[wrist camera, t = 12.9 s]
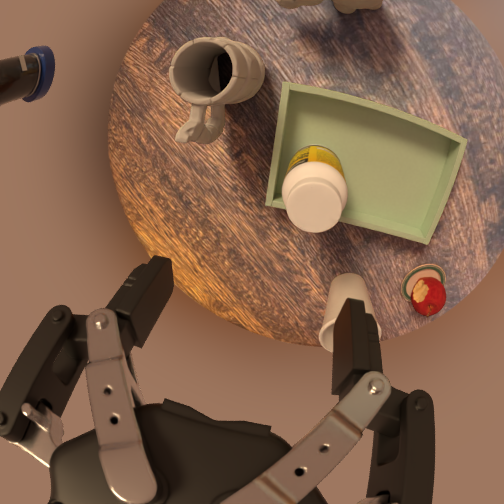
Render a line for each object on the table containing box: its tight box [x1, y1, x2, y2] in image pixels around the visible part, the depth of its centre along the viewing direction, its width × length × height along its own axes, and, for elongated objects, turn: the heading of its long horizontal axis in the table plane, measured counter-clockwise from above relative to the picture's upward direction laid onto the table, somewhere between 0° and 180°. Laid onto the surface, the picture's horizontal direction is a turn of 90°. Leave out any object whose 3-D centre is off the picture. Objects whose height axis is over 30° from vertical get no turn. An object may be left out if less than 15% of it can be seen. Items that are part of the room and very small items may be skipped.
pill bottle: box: [282, 144, 348, 233], centre depth 26 cm, size 6×6×11 cm
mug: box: [169, 37, 265, 144], centre depth 23 cm, size 8×12×12 cm, turn 168°
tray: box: [265, 82, 467, 245], centre depth 28 cm, size 22×15×3 cm
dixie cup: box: [319, 273, 381, 353], centre depth 36 cm, size 8×8×10 cm
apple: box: [401, 264, 446, 317], centre depth 34 cm, size 8×8×6 cm
